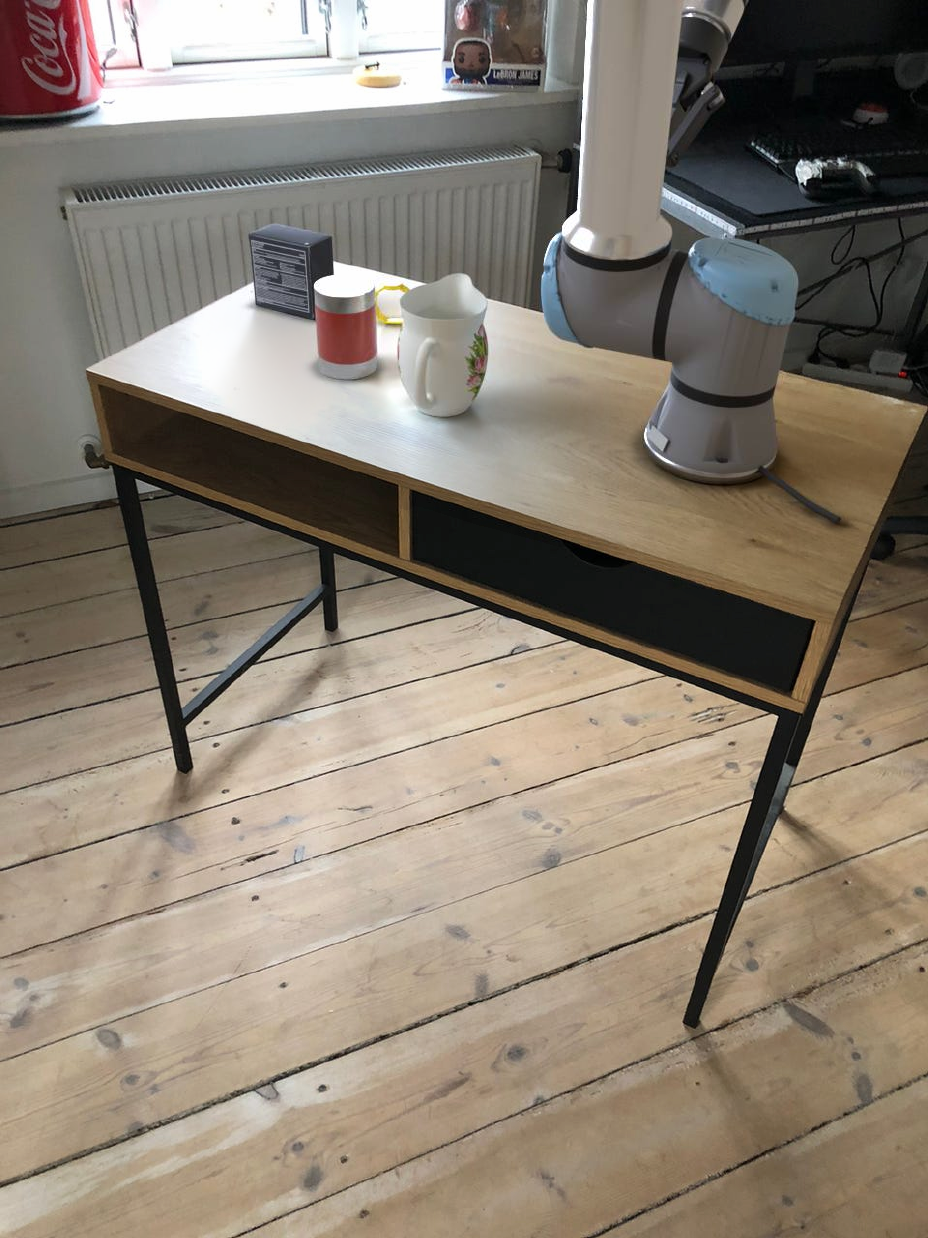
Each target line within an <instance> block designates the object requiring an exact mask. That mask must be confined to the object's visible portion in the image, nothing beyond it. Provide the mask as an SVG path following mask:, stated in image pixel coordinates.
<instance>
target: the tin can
mask: <svg viewBox="0 0 928 1238" xmlns="http://www.w3.org/2000/svg"><path fill="white" fill-rule="evenodd" d="M314 293H315V316H316V318H315V328H316V329H315V330H316V331H315V332H316V345H317V354H318V364H319V365H318V366H319V367H318V368H319V371H320V372H321V374H323V375H325V376H327V377H329V378H332V379H336V380H343V381H344V380H345V381H350V380H352V381H353V380H359V379H363V378H367V377H370V376H371V375H373V374H374V373H375V372H376V371H377V368H378V333H377V332H378V331H377V330H378V329H377V316H376V301H375V293H376V285H375V283H374V281H373V280H371V279H370V278H367V277H365V276H361V275H356V274H334V275H333V276H328V277H325V278H322V279H320V280H318V281H317V282H316V283H315V285H314Z"/></svg>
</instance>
